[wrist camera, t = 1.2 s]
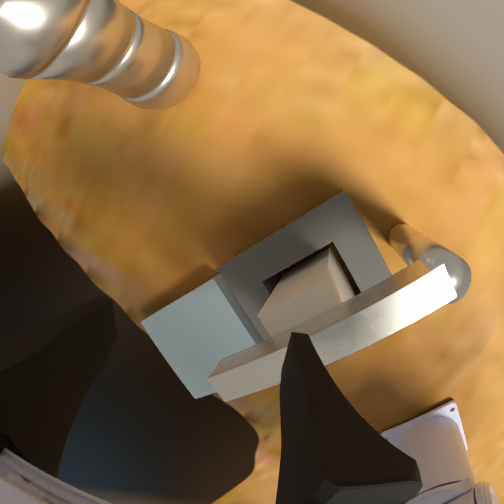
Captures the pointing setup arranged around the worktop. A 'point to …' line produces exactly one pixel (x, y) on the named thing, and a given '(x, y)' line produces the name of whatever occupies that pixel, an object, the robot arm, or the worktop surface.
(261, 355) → the grey piece
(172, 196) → the worktop surface
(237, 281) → the socket block
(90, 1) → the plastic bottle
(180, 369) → the tile
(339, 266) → the plug
